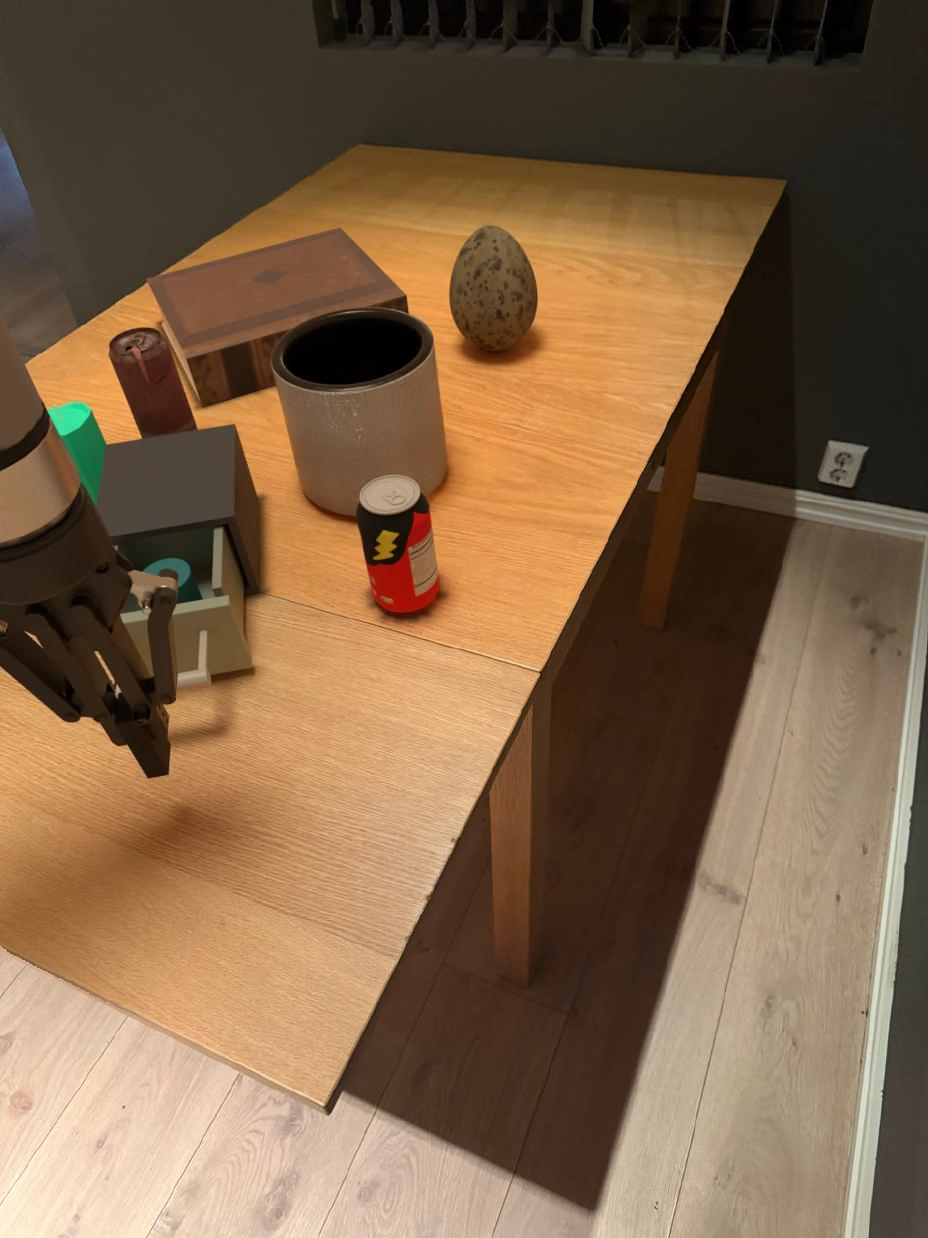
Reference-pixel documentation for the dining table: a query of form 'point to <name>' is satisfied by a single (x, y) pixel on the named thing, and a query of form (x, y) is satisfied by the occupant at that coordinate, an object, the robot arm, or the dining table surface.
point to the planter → (360, 403)
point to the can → (151, 382)
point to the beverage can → (398, 543)
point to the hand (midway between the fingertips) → (159, 761)
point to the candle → (82, 442)
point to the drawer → (195, 604)
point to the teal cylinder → (179, 578)
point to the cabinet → (182, 490)
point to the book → (262, 306)
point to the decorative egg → (493, 290)
